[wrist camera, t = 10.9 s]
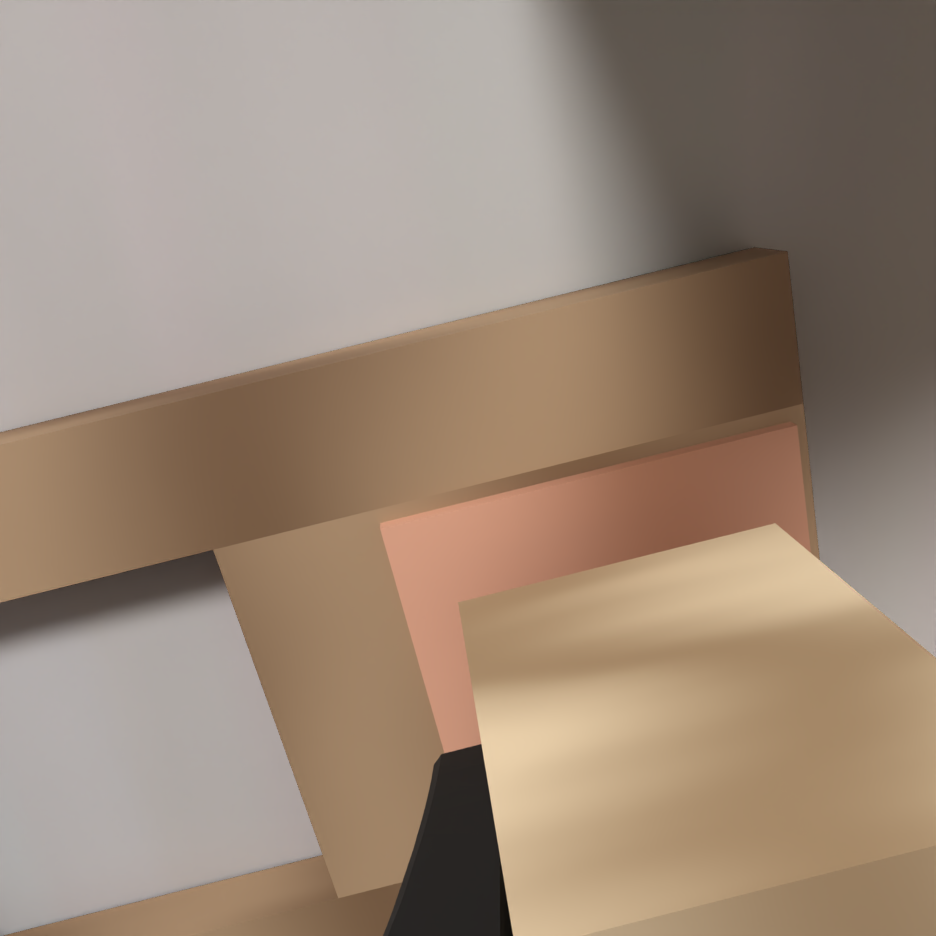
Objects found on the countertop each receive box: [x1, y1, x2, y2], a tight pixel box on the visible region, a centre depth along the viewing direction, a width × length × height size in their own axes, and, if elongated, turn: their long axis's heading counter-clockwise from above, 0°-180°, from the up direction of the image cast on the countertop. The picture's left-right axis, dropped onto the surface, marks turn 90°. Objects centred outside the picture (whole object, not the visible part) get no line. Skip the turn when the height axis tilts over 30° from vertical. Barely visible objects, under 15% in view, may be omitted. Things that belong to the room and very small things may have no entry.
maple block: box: [458, 523, 936, 936], centre depth 8 cm, size 4×4×5 cm
